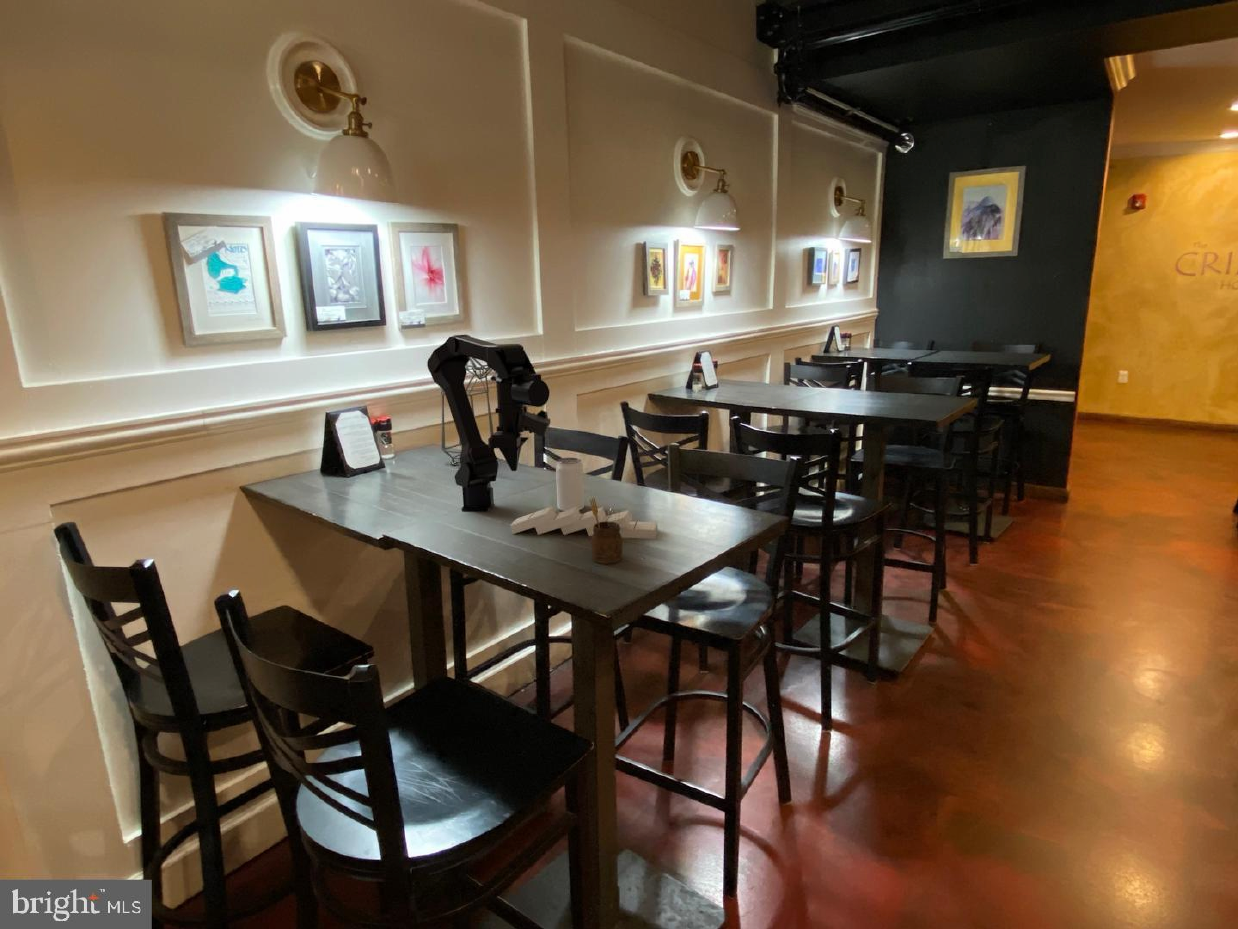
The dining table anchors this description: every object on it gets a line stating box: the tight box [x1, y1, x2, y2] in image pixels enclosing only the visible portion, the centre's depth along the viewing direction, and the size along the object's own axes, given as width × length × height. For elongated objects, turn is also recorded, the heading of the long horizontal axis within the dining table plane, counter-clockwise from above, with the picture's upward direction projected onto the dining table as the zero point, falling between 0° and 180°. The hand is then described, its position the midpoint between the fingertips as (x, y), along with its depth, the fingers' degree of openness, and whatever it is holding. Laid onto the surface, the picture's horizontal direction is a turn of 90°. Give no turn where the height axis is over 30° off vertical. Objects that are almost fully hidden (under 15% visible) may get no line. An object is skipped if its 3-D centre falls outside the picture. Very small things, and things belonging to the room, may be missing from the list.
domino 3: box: [560, 506, 607, 536], centre depth 155 cm, size 2×5×9 cm
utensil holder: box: [589, 497, 623, 565], centre depth 139 cm, size 6×6×12 cm
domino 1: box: [509, 505, 557, 535], centre depth 156 cm, size 2×5×9 cm
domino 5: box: [619, 521, 658, 540], centre depth 154 cm, size 2×5×9 cm
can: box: [555, 457, 585, 512], centre depth 171 cm, size 6×6×12 cm
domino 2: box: [534, 507, 581, 536], centre depth 155 cm, size 2×5×9 cm
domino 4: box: [585, 509, 634, 537], centre depth 153 cm, size 2×5×9 cm
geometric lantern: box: [440, 357, 496, 463], centre depth 214 cm, size 16×16×35 cm
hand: (514, 470), depth 160 cm, fingers closed
